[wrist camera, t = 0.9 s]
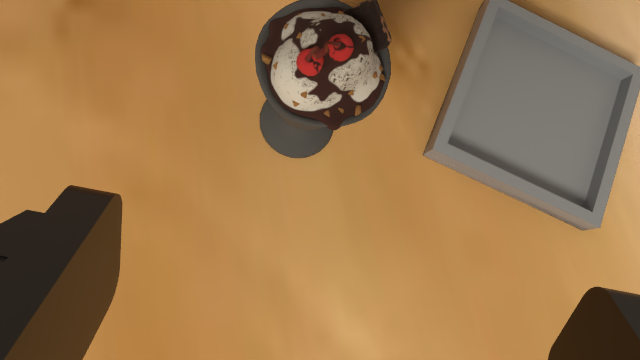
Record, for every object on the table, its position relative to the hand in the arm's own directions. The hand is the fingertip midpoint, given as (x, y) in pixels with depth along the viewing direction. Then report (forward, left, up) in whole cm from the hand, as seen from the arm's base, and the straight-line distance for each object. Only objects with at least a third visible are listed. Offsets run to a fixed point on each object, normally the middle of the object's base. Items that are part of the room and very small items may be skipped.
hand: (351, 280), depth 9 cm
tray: (+13, +18, -25) cm, 33 cm away
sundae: (-2, +10, -25) cm, 27 cm away
